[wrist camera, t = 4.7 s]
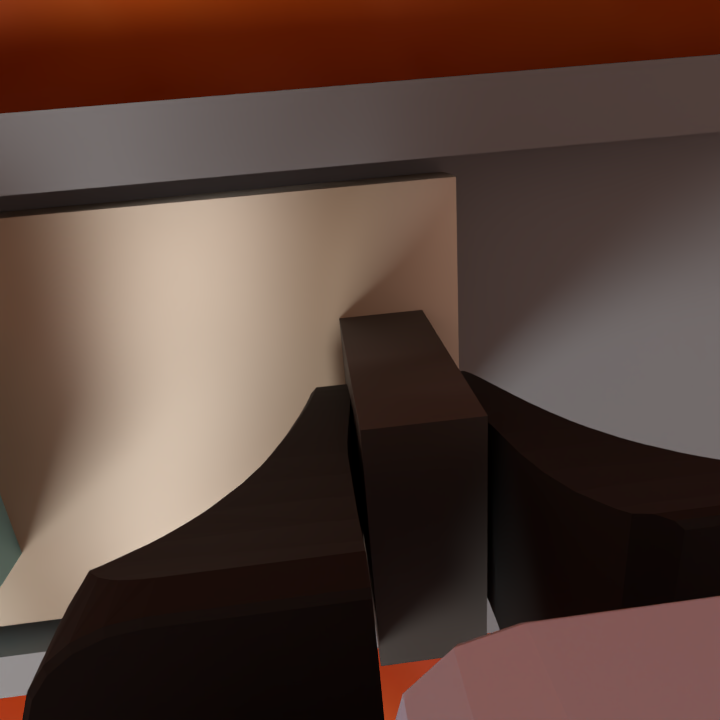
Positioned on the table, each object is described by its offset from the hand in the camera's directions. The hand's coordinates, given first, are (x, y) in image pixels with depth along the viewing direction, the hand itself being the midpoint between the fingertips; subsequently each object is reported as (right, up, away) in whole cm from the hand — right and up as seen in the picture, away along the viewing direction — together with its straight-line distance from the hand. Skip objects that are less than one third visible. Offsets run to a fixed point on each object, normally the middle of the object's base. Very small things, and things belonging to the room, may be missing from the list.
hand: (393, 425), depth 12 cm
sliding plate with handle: (-7, 0, +1) cm, 7 cm away
